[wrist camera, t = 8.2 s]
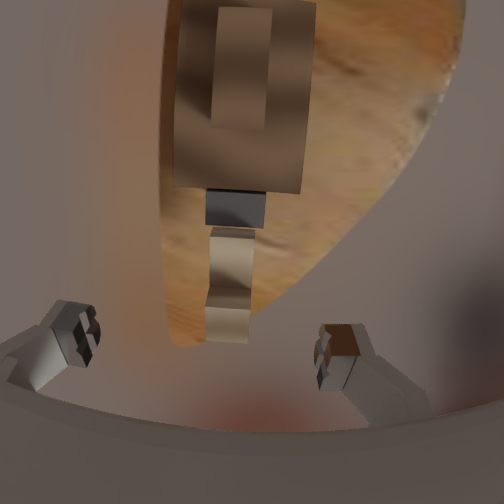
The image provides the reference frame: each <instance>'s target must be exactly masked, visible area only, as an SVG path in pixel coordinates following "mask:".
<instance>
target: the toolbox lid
mask: <svg viewBox="0 0 504 504" xmlns="http://www.w3.org/2000/svg"><path fill="white" fill-rule="evenodd" d="M315 18H316V3H314V2H307V1H299V0H182V9H181V19H180V29H179V41H178V54H177V68H176V85H175V107H174V146H173V187H196V188H218V189H236V190H252V191H266V192H279V193H292V194H300V190H301V181H302V172H303V163H304V153H305V144H306V134H307V123H308V113H309V101H310V90H311V77H312V64H313V50H314V35H315Z"/></svg>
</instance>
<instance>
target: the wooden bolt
mask: <svg viewBox="0 0 504 504" xmlns="http://www.w3.org/2000/svg"><path fill="white" fill-rule="evenodd" d="M254 246H255V230H250V229H235V228H219V227H213V229H212V232H211V235H210V287H209V291H208V296H207V300H206V304H205V330H206V340H210V341H223V342H236V343H248V335H249V323H250V311H251V285H252V272H253V259H254Z"/></svg>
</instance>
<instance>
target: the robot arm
mask: <svg viewBox="0 0 504 504" xmlns="http://www.w3.org/2000/svg"><path fill="white" fill-rule="evenodd" d="M95 316H96V311H95V308H94V307H93V306H92V305H88V304H82V303H77V302H71V301H70V302H69V301H64V300H58V301H56V302H55V304H54V305H53V306H52V308H51V309H50V310H49V312H48V313H47V314H46V316H45V317H44V319H43V320H42V321H41V323H40V324H39V326H38V325H35V326H33V327H31V328H29V329H27V330H25V331H23V332H21V333H20V334H18V335H16V336H14V337H12V338H10V339H9V340H7V341H5V342H3V343H1V344H0V504H504V399H502V400H499V401H495V402H492V403H489V404H486V405H483V406H479V407H475V408H471V409H468V410H464V411H460V412H456V413H451V414H447V415H443V416H438V417H436V416H435V414H434V411H433V408H432V406H431V403H430V401H429V399H428V396H427V394H426V391H425V390H423V389H422V388H421V387H419V386H418V385H417V384H415V383H414V382H413V381H412V380H411V379H409V378H408V377H407V376H405V375H404V374H403V373H402V372H400V371H399V370H398V369H396V368H395V367H394V366H392V365H391V364H390V363H389V362H387V361H386V360H385V359H383V358H382V357H381V356H376V355H375V352H374V349H373V346H372V344H371V341H370V339H369V336H368V333H367V331H366V329H365V326H364V325H363V324H322V325H321V327H320V330H319V336H320V339H319V340H318V341H317V342H316V345H315V350H314V363H315V367H316V368H317V369H318V370H319V371H318V374H317V381H318V386H319V391H342V392H343V393H344V395H345V396H346V397H347V398H348V399H349V400H350V401H351V403H352V404H353V405H354V406H355V407H356V408H357V409H358V410H359V411H360V413H361V414H362V415H363V416H364V417H365V418H366V420H367V421H369V423H370V425H369V426H368V427H367V428H360V429H349V430H335V431H318V432H248V431H230V430H216V429H204V428H196V427H187V426H179V425H172V424H165V423H159V422H152V421H147V420H141V419H136V418H130V417H125V416H121V415H116V414H111V413H107V412H102V411H99V410H94V409H90V408H87V407H83V406H79V405H76V404H72V403H68V402H65V401H62V400H58V399H55V398H52V397H49V396H46V395H43V394H40V393H37V392H36V391H37V390H38V389H40V388H41V387H42V386H43V385H44V384H46V383H47V382H48V381H49V380H51V379H52V378H53V377H54V376H55V375H57V374H58V373H59V372H61V371H62V370H63V369H64V368H66V367H67V366H68V365H72V366H77V367H82V368H87V367H88V364H89V362H90V360H91V358H92V356H93V355H92V350H93V349H95V348H96V347H97V346H98V344H99V342H100V336H101V330H100V325H99V323H98V322H97V321H96V320H95V318H94V317H95Z"/></svg>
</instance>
